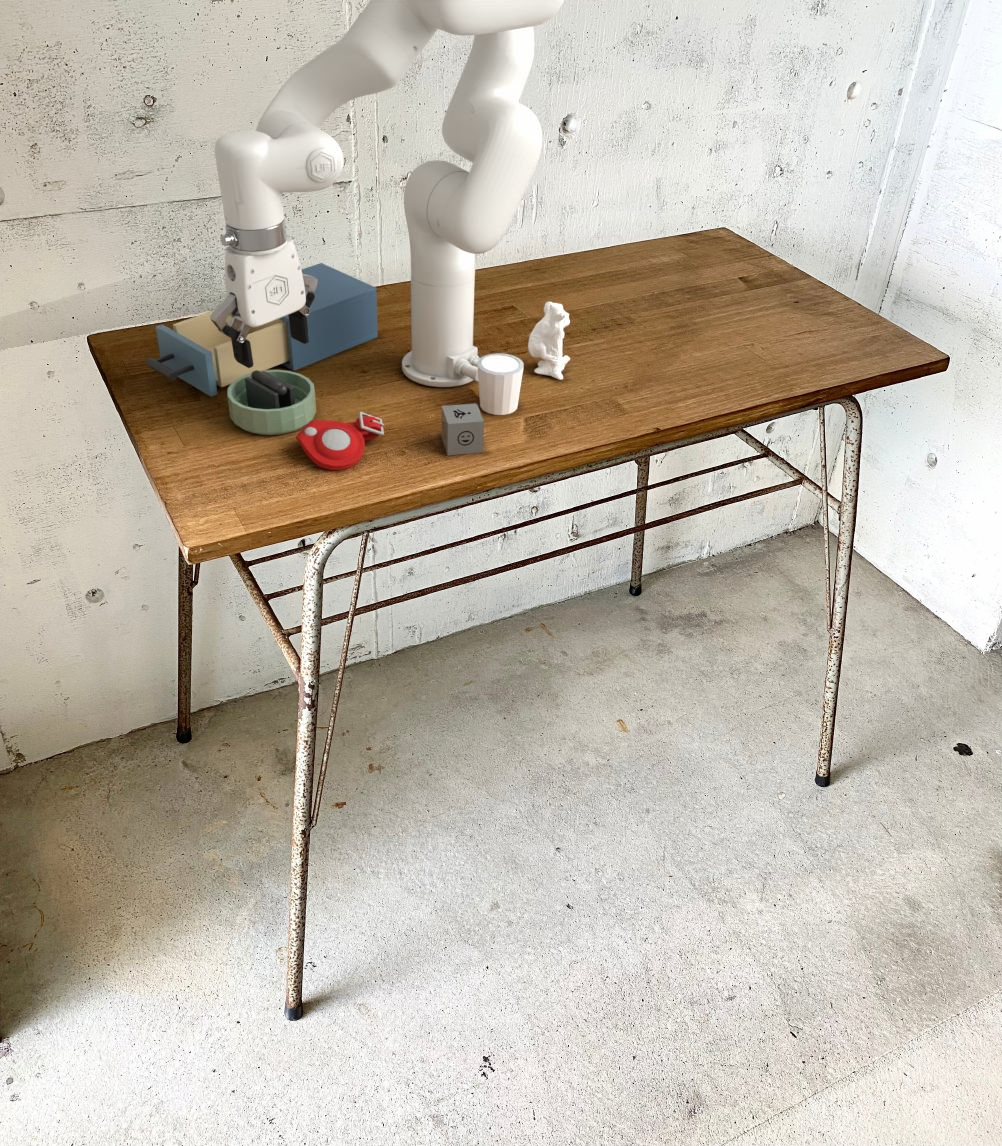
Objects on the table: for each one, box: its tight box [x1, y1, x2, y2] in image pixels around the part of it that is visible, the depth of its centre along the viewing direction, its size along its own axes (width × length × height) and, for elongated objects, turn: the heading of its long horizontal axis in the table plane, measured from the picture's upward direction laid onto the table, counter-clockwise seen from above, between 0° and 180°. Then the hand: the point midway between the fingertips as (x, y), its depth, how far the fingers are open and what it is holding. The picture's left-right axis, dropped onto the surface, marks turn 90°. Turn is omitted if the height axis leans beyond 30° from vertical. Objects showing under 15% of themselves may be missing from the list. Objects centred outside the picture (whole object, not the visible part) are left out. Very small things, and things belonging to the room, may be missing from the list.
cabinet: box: [279, 262, 379, 372], centre depth 176 cm, size 18×14×9 cm
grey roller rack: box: [245, 370, 295, 409], centre depth 157 cm, size 7×3×6 cm, turn 48°
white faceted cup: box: [477, 352, 525, 416], centre depth 162 cm, size 7×7×7 cm
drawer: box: [145, 309, 290, 397], centre depth 166 cm, size 21×12×7 cm, turn 138°
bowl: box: [226, 369, 317, 436], centre depth 158 cm, size 12×12×4 cm
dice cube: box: [440, 403, 485, 456], centre depth 153 cm, size 5×5×5 cm
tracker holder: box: [295, 411, 385, 471], centre depth 152 cm, size 12×4×10 cm
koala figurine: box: [527, 301, 571, 381], centre depth 170 cm, size 8×7×12 cm
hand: (272, 352), depth 153 cm, fingers open, 9 cm apart
